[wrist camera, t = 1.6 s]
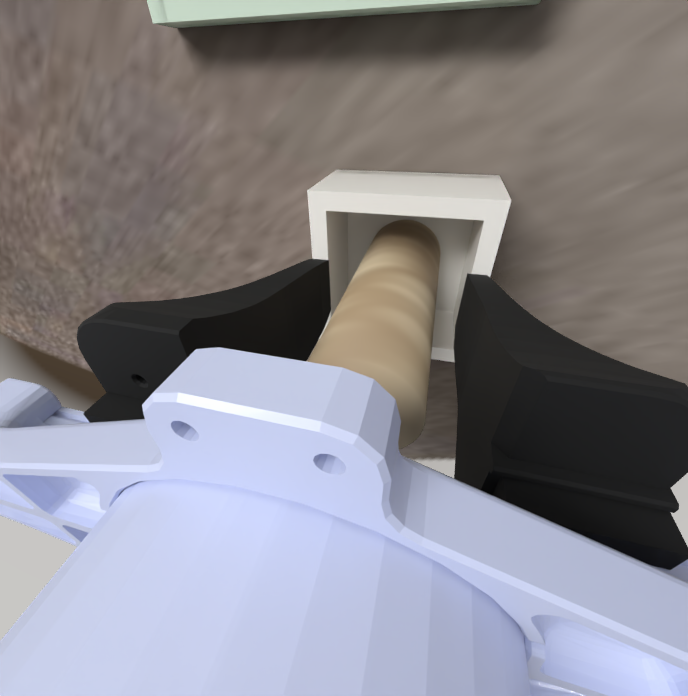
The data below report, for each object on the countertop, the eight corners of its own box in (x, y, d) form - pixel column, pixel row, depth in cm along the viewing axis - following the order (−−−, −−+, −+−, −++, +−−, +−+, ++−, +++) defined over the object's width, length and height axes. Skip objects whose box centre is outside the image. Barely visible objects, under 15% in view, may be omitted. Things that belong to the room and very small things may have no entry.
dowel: (446, 222, 13) (435, 372, 6) (434, 290, 15) (416, 463, 8) (371, 217, 14) (286, 348, 7) (369, 283, 16) (300, 438, 9)
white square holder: (499, 175, 12) (511, 200, 10) (464, 317, 16) (465, 364, 13) (336, 169, 13) (307, 190, 11) (340, 302, 17) (319, 342, 15)
